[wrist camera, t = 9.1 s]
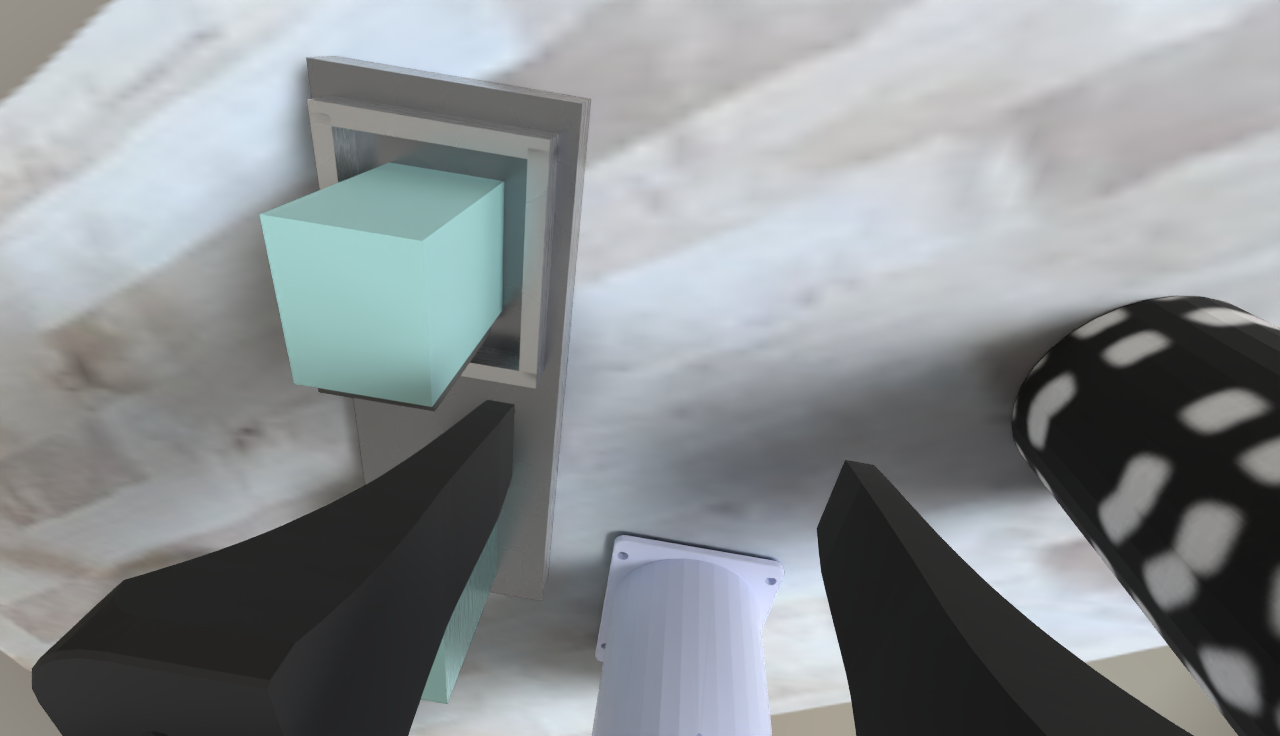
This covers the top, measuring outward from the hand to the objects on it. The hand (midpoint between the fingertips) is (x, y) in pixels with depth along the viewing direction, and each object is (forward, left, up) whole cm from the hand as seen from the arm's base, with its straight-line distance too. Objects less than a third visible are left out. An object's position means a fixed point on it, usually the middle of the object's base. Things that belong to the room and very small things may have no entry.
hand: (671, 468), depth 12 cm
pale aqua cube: (+1, +8, -8) cm, 11 cm away
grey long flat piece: (-5, +8, -9) cm, 13 cm away
